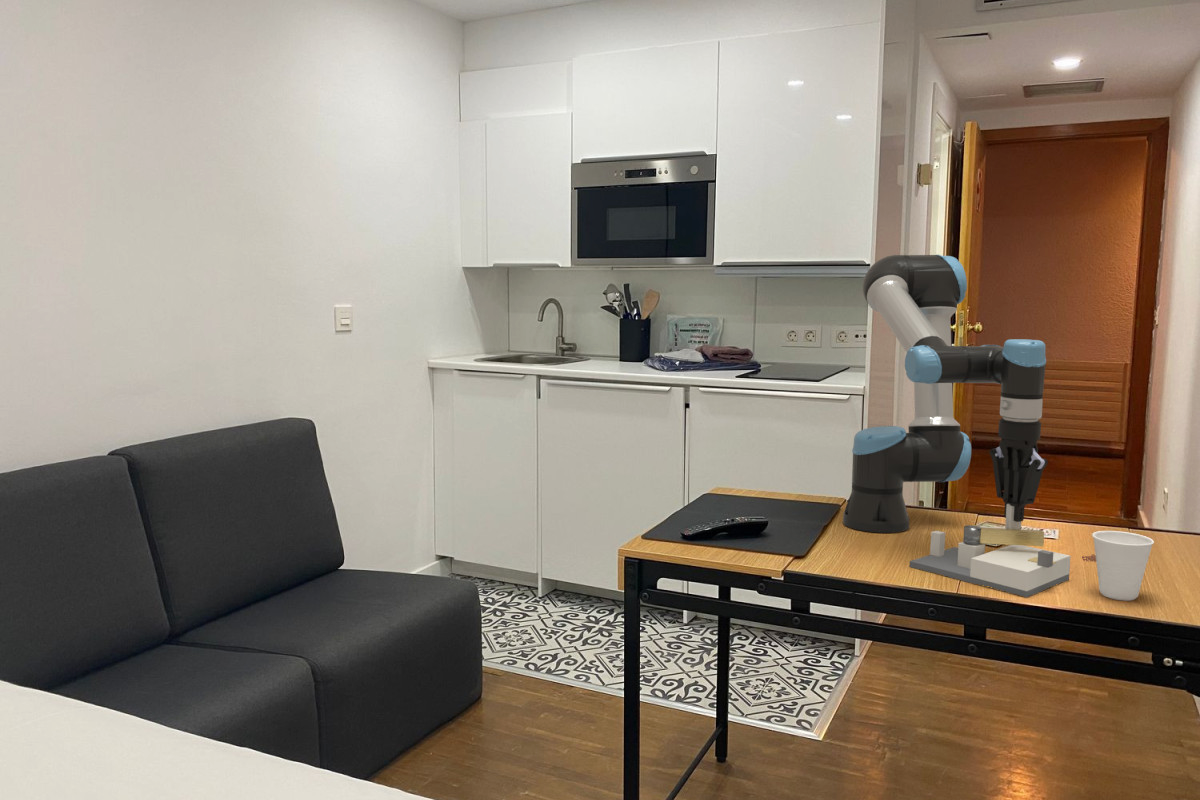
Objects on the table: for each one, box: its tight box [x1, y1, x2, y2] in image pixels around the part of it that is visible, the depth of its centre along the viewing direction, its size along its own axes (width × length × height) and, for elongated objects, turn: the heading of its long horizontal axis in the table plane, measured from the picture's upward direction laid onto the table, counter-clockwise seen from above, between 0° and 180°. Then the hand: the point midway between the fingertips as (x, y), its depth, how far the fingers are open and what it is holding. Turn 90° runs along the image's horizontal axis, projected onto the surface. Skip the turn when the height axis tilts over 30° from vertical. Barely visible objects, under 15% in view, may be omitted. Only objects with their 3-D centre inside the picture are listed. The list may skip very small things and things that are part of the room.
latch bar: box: [962, 524, 1045, 547], centre depth 181 cm, size 15×3×3 cm, turn 79°
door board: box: [908, 530, 1071, 598], centre depth 181 cm, size 25×17×7 cm
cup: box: [1091, 530, 1155, 602], centre depth 168 cm, size 10×10×11 cm
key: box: [1081, 553, 1096, 563], centre depth 187 cm, size 6×1×15 cm
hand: (1012, 536), depth 183 cm, fingers closed
